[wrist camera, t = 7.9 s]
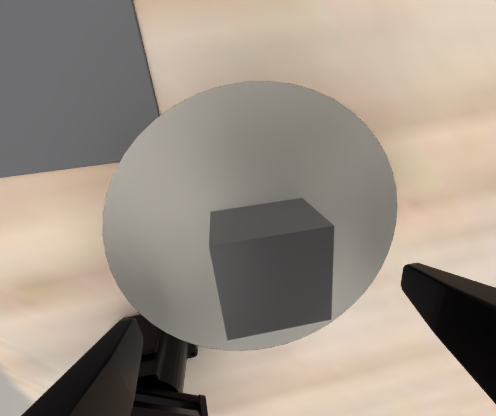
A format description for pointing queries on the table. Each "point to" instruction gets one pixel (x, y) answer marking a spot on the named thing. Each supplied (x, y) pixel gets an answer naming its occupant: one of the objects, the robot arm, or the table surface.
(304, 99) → the lid
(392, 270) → the table surface
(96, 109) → the charcoal mat
